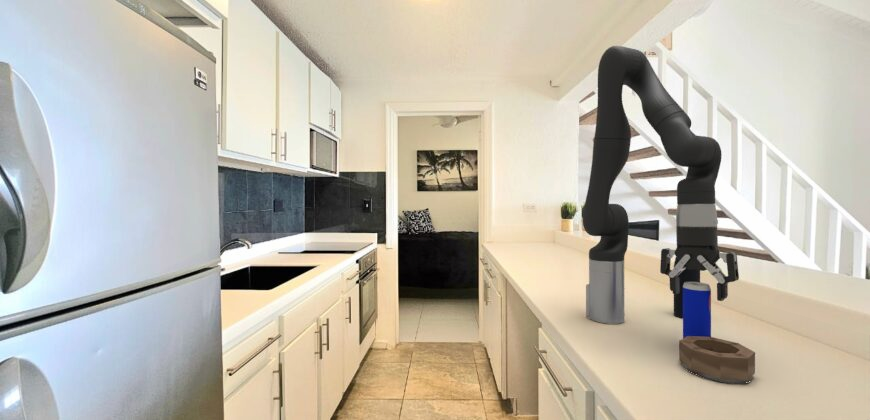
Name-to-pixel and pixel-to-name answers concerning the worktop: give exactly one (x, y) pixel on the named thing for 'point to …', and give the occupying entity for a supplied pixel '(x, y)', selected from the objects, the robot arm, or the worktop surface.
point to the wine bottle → (684, 276)
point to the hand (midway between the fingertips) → (697, 296)
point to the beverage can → (696, 309)
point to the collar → (717, 359)
